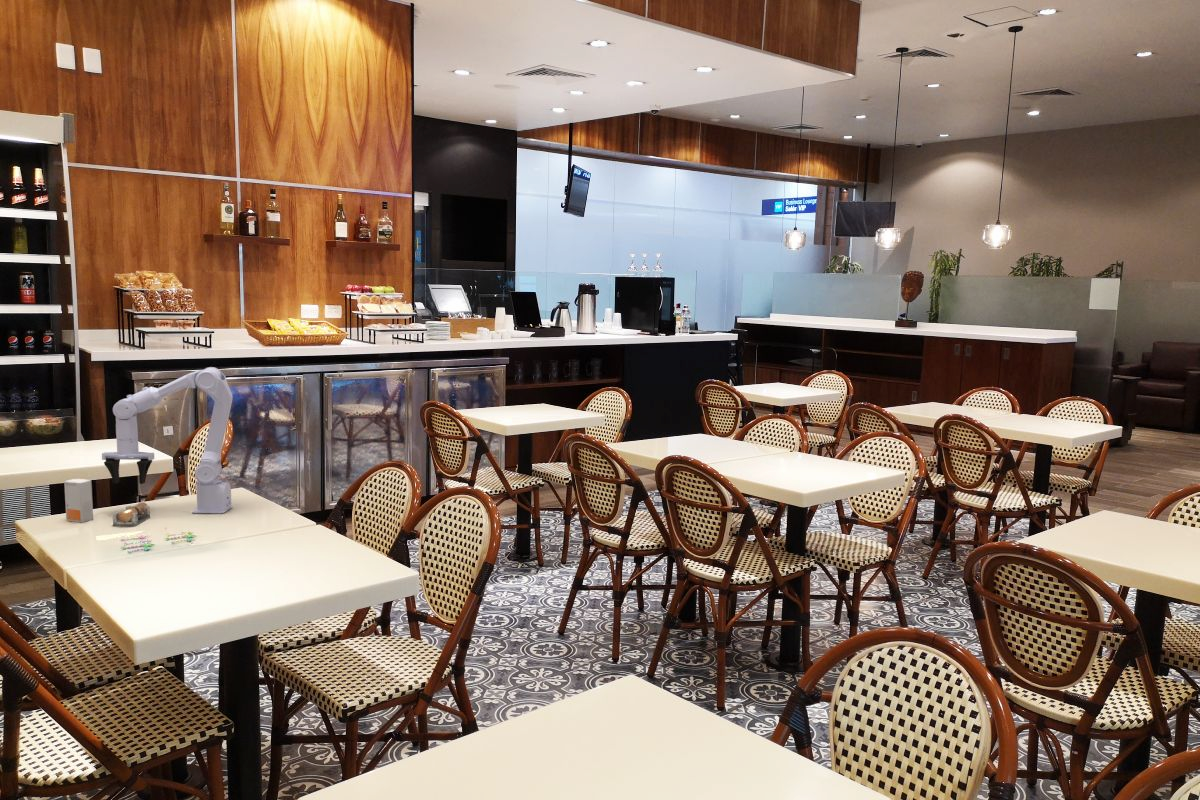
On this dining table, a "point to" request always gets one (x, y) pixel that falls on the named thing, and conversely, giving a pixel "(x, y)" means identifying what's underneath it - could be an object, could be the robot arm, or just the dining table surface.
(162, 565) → the dining table surface
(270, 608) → the dining table surface
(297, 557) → the dining table surface
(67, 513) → the skincare box
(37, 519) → the dining table surface
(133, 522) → the cradle
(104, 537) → the clear flat square panel
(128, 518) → the tube
